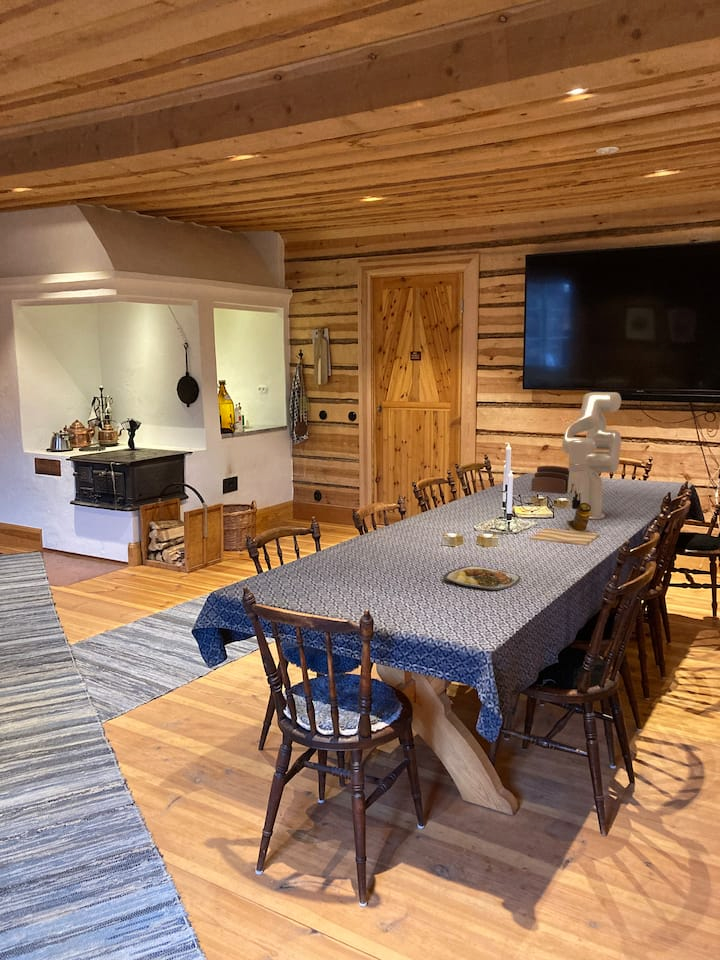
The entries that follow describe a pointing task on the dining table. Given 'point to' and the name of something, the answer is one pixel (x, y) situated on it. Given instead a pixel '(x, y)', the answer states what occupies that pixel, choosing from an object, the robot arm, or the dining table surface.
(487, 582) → the meal
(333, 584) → the dining table surface
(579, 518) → the condiment
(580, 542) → the oak board
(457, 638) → the dining table surface
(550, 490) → the letter holder
